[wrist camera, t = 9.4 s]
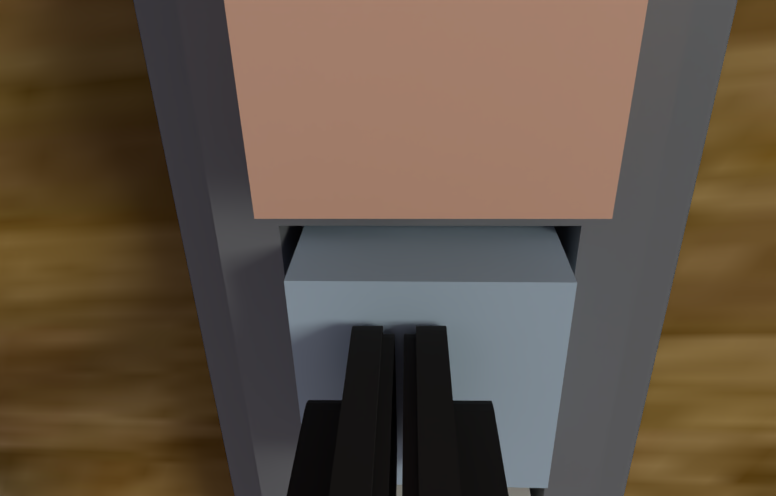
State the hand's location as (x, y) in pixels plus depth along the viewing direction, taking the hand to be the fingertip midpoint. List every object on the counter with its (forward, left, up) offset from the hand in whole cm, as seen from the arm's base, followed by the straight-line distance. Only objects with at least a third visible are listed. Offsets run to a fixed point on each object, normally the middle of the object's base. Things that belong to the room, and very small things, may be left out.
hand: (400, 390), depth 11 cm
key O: (+4, -5, -1) cm, 7 cm away
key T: (0, 0, -2) cm, 2 cm away
